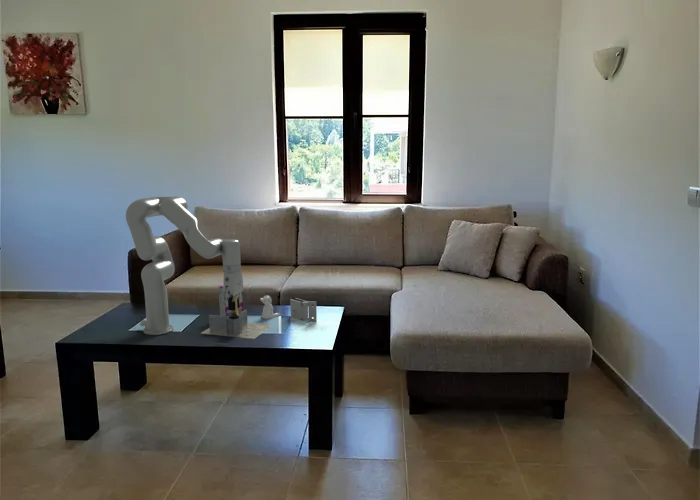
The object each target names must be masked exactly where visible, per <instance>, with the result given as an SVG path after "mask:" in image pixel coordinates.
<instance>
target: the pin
mask: <svg viewBox="0 0 700 500" xmlns="http://www.w3.org/2000/svg"><path fill="white" fill-rule="evenodd" d="M230 297H232V296H230ZM234 301H235V307H236V310H235V311H233V310H231V316H232V317H236V316H238V306H237V295H234Z"/></svg>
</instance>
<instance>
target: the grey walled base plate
mask: <svg viewBox="0 0 700 500" xmlns="http://www.w3.org/2000/svg"><path fill="white" fill-rule="evenodd" d="M208 325H209V326H208V328H207V329H205V330H204V331H202V332H200V334H203V335H212V336H213V335H214V336H221V337H222V336H224V337H231V338H241V339H253V340H255V339H256V338H257V337H259V336H261V335H262V333H264V332H266V331H267V330H268V329H269V328H271V327H272V326H273V325H274V324H272V323H271V324H270V323H259V322H252V321H251V322H250V321H248V310H247V309H243V311H242V312H241V313H239V314H238V316H236V317H232V316H220V315H215V314H214V315H213V314H208Z"/></svg>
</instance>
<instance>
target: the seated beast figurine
mask: <svg viewBox="0 0 700 500" xmlns="http://www.w3.org/2000/svg"><path fill="white" fill-rule="evenodd" d="M259 299H260V302H262V304H264V305H263V307H262V313H261V318H262V319H263V320H270V319H273V318H276V317H281V316H282V314H281V313H279V312H276V313H274V307H273V305H272V302H273V300H272V297H271V296H270V295H269V294H268V295H264V296H263V297H260V298H259Z"/></svg>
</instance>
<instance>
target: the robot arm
mask: <svg viewBox="0 0 700 500" xmlns="http://www.w3.org/2000/svg"><path fill="white" fill-rule="evenodd" d="M188 207H189V206H188V203H187V201H186V200H185V199H184V198H183V197H181V196H151V197H144V198H139V199H136V200H134V201H132V202H131V203H130V204H129V205H128V207H127V208H126V211H125V219H126V223H127V226H128V229H129V231H130V234H131V238H132V241H133V245H134V247H135V250H136V253H137V256H138V257H139V258H140V260H143V261H150V260H151V262H150V263H148V264H146V265H145V266H144V267H143V268H142V270H141V273H140V275H141V276H140V277H141V282H142V286H143V291H144V302H145V303H144V305H145V317H146V319H143V320H140V323H139V325H140V326H142V327H144V328H143V334H145V335H148V336H159V335H164V334H168V333H171V332H172V331H174V327H173V325H171V324H170V317H169V316H170V315H169V302H168V301H169V300H168V289H167V286H166V283H165V281H166V280H168V279H170V278H171V277H172V276H174V274H175V271H176V269H175V263H174V260H173V256H172V253H171V250H170V248H169V245H168V242H167V241H166V239H164V238H163V237H161V236H159V235H157V236H156V235H154V234H153V231H152V227H151V225H150V224H149V223H148V221H147V219H148V218H152V217H156V216H163V217H165V218H166V219H167V221H169V222H170V223H171V224H173V225H174V226H175V227H176V229H178V230H179V231H180V232H181V233H182V234H183V236H184V238H185V240H186V242H187V244H188V245H189V246H190V247H191V248H192V249H193V250H194V251H195V252H196V253H197V254H198V255H199V256H201V257H202V258H204V259H207V260H209V259H214V258H216V257H218V256H222V268H223V269H222V270H223V285H224V294H225V298H226V299H227V301H228V310H233V311H235V310H236V307H235V301H234V295H237V306H238V308H239V307H240V305H239V298H240V292H242V293H243V291H244V279H243V273H242V265H241V244H240V241H239V240H238V239H233V238H232V239H225V238H220V237H218V238H212V239H209V240H208V238H206V236H204V234H202V232H201V231H200V230H199V228H198V219H197V217H196V216H195V215H193V214H192V213H191V212H190V211H189V210H188ZM229 293H230V294H229ZM230 296H232V297H230Z"/></svg>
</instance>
